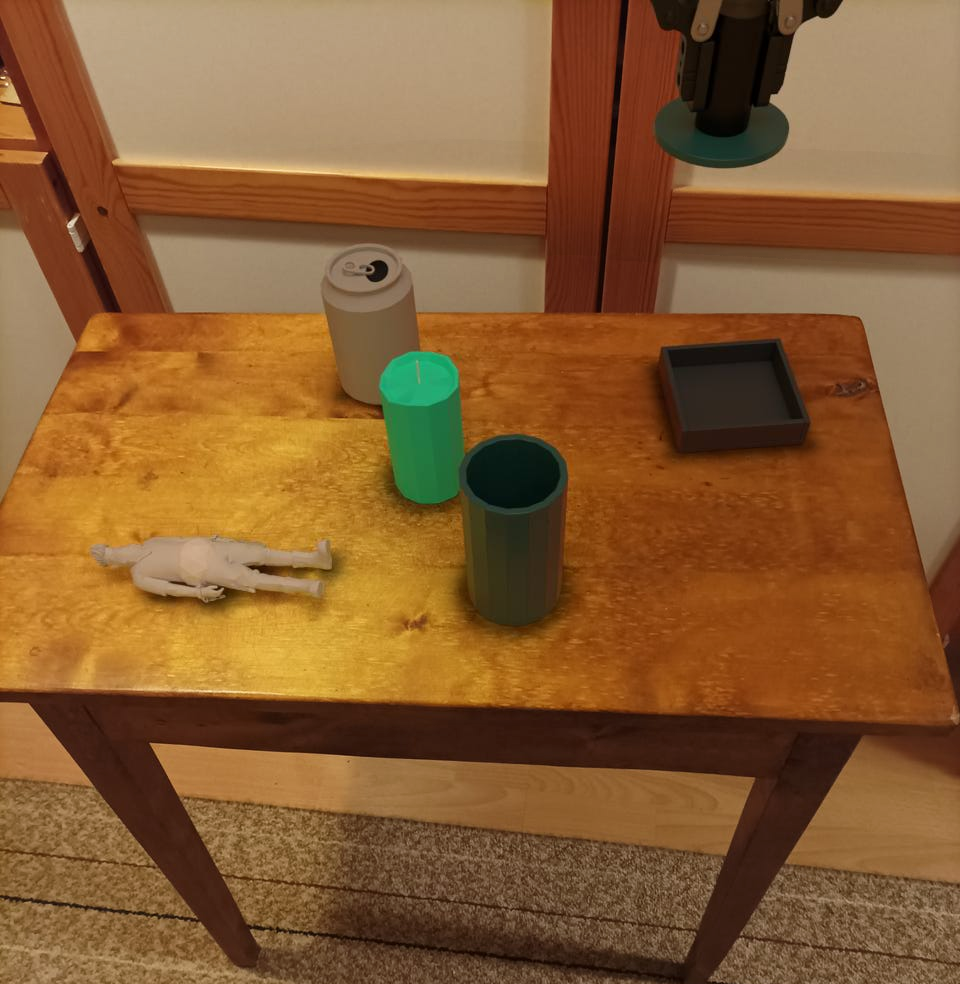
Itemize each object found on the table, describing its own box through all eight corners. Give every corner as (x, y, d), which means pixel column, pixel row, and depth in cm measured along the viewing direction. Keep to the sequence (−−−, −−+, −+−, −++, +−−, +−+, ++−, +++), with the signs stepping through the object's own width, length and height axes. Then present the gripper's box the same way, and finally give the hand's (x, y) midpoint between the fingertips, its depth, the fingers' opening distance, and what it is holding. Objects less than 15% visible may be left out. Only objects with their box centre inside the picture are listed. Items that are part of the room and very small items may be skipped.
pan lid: (767, 104, 55) (795, -33, 49) (800, 173, 51) (835, 33, 45) (642, 114, 55) (656, -21, 49) (665, 184, 51) (683, 45, 45)
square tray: (773, 360, 82) (780, 337, 80) (803, 444, 76) (811, 422, 74) (657, 369, 82) (660, 346, 80) (678, 453, 76) (682, 431, 74)
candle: (432, 440, 78) (419, 323, 68) (481, 476, 75) (475, 359, 65) (380, 478, 76) (358, 362, 66) (428, 516, 73) (414, 402, 63)
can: (422, 410, 80) (407, 292, 70) (337, 412, 80) (311, 295, 70) (426, 354, 84) (412, 234, 74) (345, 355, 84) (321, 237, 74)
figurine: (318, 590, 65) (67, 578, 65) (324, 625, 68) (84, 613, 68) (331, 520, 69) (95, 508, 69) (336, 555, 73) (110, 544, 72)
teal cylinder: (555, 548, 71) (561, 430, 60) (565, 622, 67) (573, 509, 57) (466, 555, 71) (456, 437, 60) (470, 629, 67) (461, 517, 57)
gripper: (645, -305, 35) (611, 149, 49) (1013, -336, 35) (870, 127, 49) (615, -351, 39) (592, 80, 53) (944, -378, 39) (831, 60, 53)
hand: (726, 101), depth 51 cm, fingers closed on pan lid, 3 cm apart
